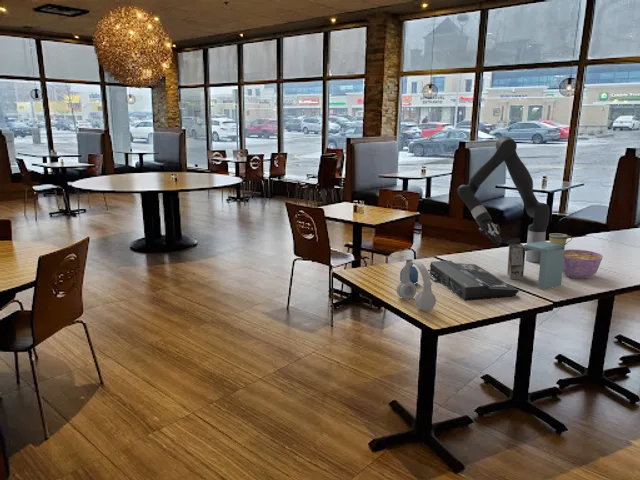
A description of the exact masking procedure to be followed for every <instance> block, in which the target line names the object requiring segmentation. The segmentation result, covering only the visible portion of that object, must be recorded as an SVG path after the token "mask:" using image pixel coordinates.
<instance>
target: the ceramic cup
mask: <svg viewBox="0 0 640 480" xmlns="http://www.w3.org/2000/svg"><path fill="white" fill-rule="evenodd" d="M548 237H549V243H554V244H559V245H563V246H565V247H566V245H567V244H569V242H571V241H573V237H572V236H570V235H568V234H566V233H565V234H564V233H557V232H555V233H549V234H548ZM568 238H571V239H570V240H568ZM567 240H568V241H567Z"/></svg>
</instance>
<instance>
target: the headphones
mask: <svg viewBox="0 0 640 480" xmlns="http://www.w3.org/2000/svg"><path fill="white" fill-rule="evenodd" d="M412 264H413V265H415V267H416V268H417V269H418V270H419V272H420V274H421V278H422V282H423V283H422V286H423V288H422V290H420V291H419V292H417V285H414V284H413V283H412V282H411V281H410V279H409V273H410V272H409V270H410V268H411V266H413V265H412ZM403 267H404V269H403V268H402V269H403V272H401V271H400V272H401V274H402V278H401V282H400V281H399V283H398V284H397V287H396V294H397V295H398V297H400V298H401V297H402V298H401V299H403V300H406V299H409V300H411V298H412V299H413V298H414V304H415V306H416V307H417V308H418V309H419V310H420V311H422V312H425V311H427V312H430V311H431V310H432V309H434V307H435V306H436V303H437V298H436V296H435V294H433V293H434V292H433V291H432V284H433V282H431V278H430V276H429V274H428V273H429V271H428V269H427V268H426V265H424V263H422V262H421V261H419V260H414V261H412V262H408V263H407V264H406V263H405V265H404V266H403ZM416 293H417V294H416ZM415 295H416V296H415Z"/></svg>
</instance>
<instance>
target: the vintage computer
mask: <svg viewBox="0 0 640 480" xmlns="http://www.w3.org/2000/svg"><path fill="white" fill-rule="evenodd" d="M429 267H430V268H429V269H427V271H428V274H429V277H430V279H431V280H433V281H435V282H436V281H437V282H439V283H441V282H442V283H443V284H444V286H445V287H446V286H447V287H448V288H447V287H446V288H447V289H448V290H450V291H451V290H452V291H453V294H455V293H456V294H457V295H456V294H455V295H456V296H458V298H460V299H462V301H464V302H470V301H482V300H493V299H507V298H516V297H517V294H518V293H519V291H520V289H517V288H515V287H514V286H512V285H511V284H509V283H507V282H505V281H503V280H502V279H500V278H499V277H497V276H496V275H494V274H492V273H491V272H489V271H488V270H485V269H484V268H483V267H481V266H478V265H477V264H475V263H458V262H457V263H456V262H453V261H452V260H438V261H437V260H436V261H430V265H429ZM431 274H432V275H433V276H432V275H431ZM438 280H439V281H438ZM442 283H441V284H442ZM443 284H442V285H443ZM452 291H451V292H452Z"/></svg>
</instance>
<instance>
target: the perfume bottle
mask: <svg viewBox="0 0 640 480" xmlns="http://www.w3.org/2000/svg"><path fill="white" fill-rule="evenodd" d="M405 261H406V262H405V265H406V264H407V263H408V262H412V261H413V259H406V260H405ZM413 265H414V264H412V266H411V268H410V270H409V272H410V273H409V279H410V281H411V282H412V283H413V284H414V283H416V282H418V283H419V271H418V270H417V269H418V268H417V267H416V266H413ZM403 269H404V266H403V267H402V269H401V270H400V272H399V273H400V274H399V275H400V276H399V282H400V281H401V278H402V274H401V272H403Z"/></svg>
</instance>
